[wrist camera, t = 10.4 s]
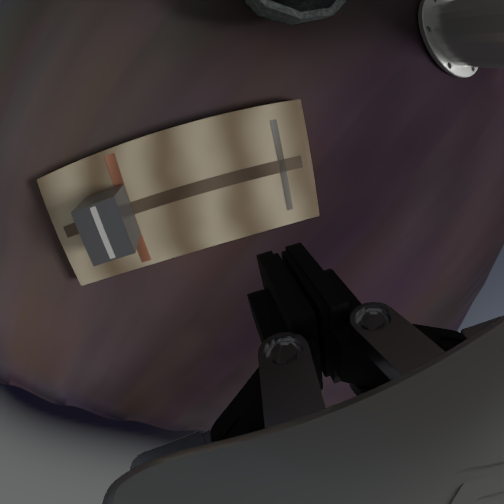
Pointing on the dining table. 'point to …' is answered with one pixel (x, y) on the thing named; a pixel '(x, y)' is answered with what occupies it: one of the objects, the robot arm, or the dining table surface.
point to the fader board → (193, 185)
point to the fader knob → (107, 225)
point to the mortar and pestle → (295, 9)
